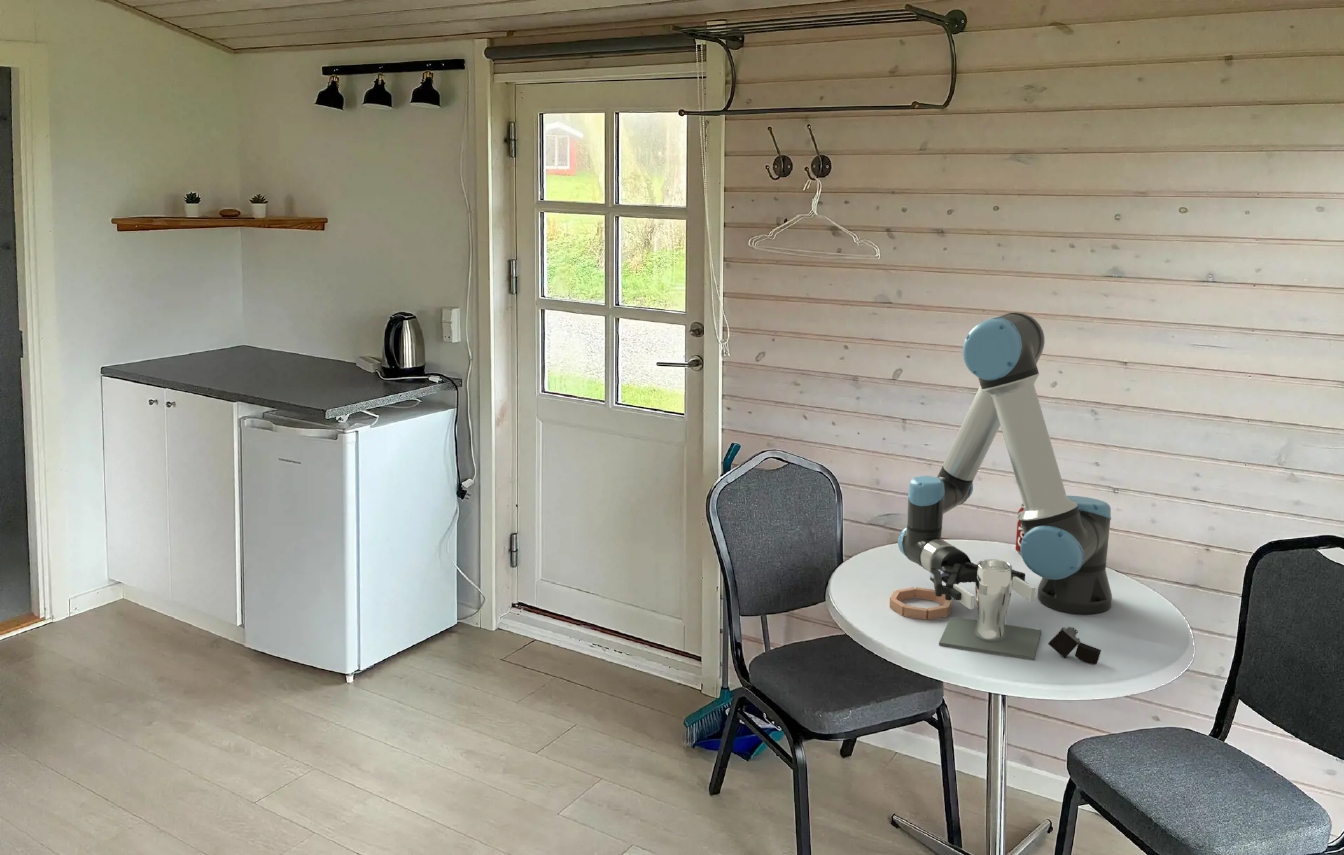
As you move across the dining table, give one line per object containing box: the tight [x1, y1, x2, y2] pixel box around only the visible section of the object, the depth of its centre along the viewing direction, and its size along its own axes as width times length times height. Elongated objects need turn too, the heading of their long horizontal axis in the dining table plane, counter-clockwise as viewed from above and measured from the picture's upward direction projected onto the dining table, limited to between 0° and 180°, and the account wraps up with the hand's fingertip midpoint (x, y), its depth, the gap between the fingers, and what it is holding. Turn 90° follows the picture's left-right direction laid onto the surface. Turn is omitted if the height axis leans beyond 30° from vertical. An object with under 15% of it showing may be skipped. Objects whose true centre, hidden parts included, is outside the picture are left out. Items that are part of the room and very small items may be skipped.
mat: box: [938, 616, 1042, 661], centre depth 229 cm, size 18×14×1 cm
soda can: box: [1015, 503, 1024, 555], centre depth 276 cm, size 7×7×12 cm
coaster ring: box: [889, 586, 953, 621], centre depth 245 cm, size 12×12×2 cm
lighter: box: [1047, 626, 1102, 665], centre depth 220 cm, size 9×2×6 cm
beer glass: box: [974, 558, 1013, 642], centre depth 227 cm, size 7×7×15 cm
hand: (1003, 598), depth 224 cm, fingers open, 13 cm apart
